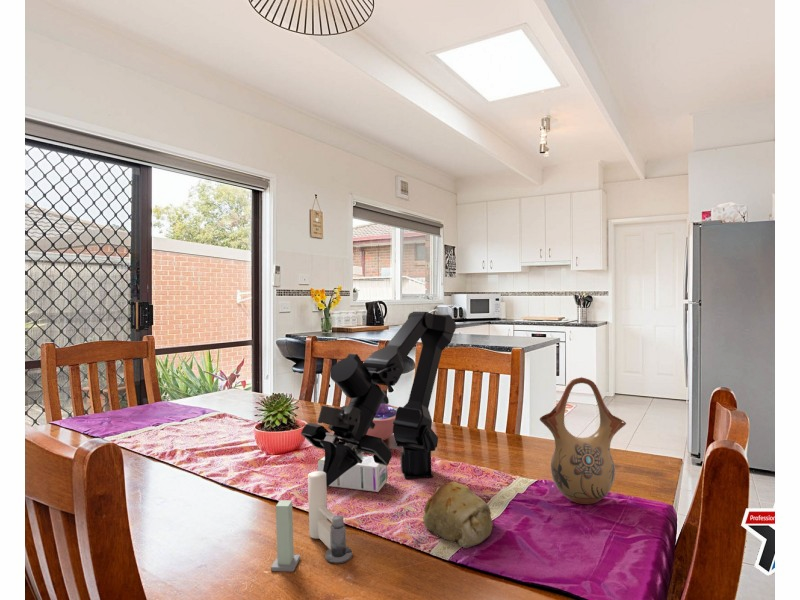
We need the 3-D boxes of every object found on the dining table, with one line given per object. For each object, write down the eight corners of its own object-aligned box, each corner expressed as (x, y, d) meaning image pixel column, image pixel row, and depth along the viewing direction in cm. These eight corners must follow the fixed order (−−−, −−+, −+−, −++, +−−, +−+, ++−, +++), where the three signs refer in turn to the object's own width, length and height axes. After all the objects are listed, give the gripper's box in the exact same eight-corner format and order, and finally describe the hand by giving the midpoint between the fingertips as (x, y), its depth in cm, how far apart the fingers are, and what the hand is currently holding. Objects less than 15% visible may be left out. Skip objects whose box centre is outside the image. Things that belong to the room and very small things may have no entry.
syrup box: (317, 485, 108) (378, 494, 103) (317, 459, 107) (378, 467, 103) (329, 475, 113) (388, 482, 108) (328, 450, 113) (387, 457, 108)
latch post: (278, 557, 80) (276, 497, 79) (300, 558, 79) (298, 498, 79) (270, 570, 76) (269, 508, 76) (293, 571, 76) (291, 508, 75)
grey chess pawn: (352, 547, 82) (351, 518, 82) (352, 562, 78) (351, 532, 78) (325, 549, 82) (325, 520, 82) (324, 565, 77) (323, 534, 77)
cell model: (362, 426, 151) (361, 390, 151) (415, 437, 139) (414, 398, 139) (323, 441, 137) (322, 402, 137) (378, 455, 126) (377, 412, 125)
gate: (350, 553, 80) (348, 489, 79) (332, 560, 78) (330, 494, 78) (323, 527, 89) (321, 469, 88) (306, 532, 87) (305, 473, 86)
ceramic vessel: (541, 507, 95) (540, 381, 94) (539, 487, 104) (538, 372, 103) (631, 514, 92) (631, 383, 91) (621, 493, 101) (620, 374, 100)
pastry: (422, 510, 95) (421, 470, 95) (485, 509, 95) (485, 469, 95) (424, 550, 81) (423, 503, 81) (499, 549, 81) (498, 502, 81)
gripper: (306, 382, 97) (263, 454, 88) (381, 393, 86) (341, 476, 77) (334, 412, 103) (297, 481, 95) (406, 426, 93) (372, 505, 84)
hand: (324, 485), depth 88 cm, fingers closed, pressing on gate
